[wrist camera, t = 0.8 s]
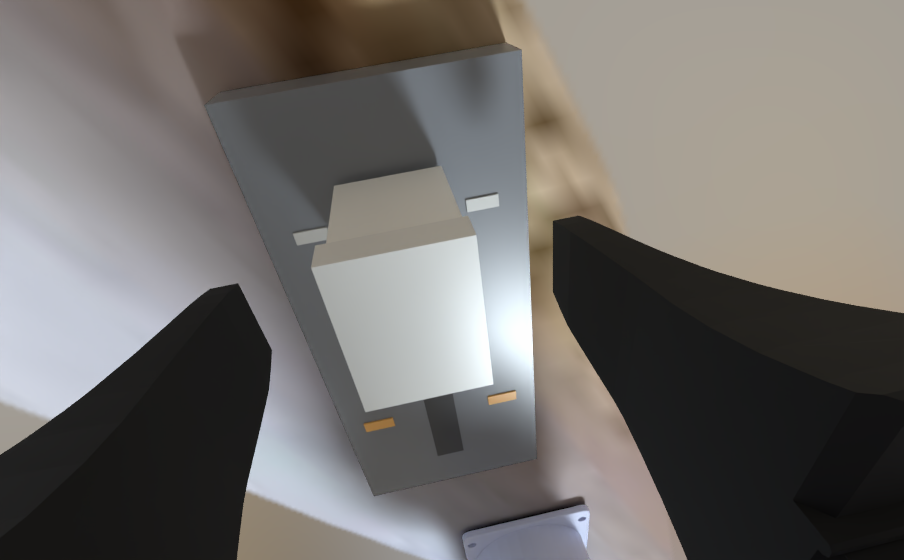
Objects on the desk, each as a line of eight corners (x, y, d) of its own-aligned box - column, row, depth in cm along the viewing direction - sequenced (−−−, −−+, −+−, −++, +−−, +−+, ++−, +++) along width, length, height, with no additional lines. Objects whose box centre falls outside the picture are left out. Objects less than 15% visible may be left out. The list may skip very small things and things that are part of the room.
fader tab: (456, 268, 14) (493, 384, 10) (364, 287, 14) (365, 412, 10) (438, 148, 12) (476, 235, 8) (328, 168, 12) (310, 267, 8)
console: (527, 432, 23) (537, 459, 22) (373, 467, 23) (373, 497, 21) (506, 42, 13) (522, 49, 11) (220, 91, 12) (203, 105, 11)
